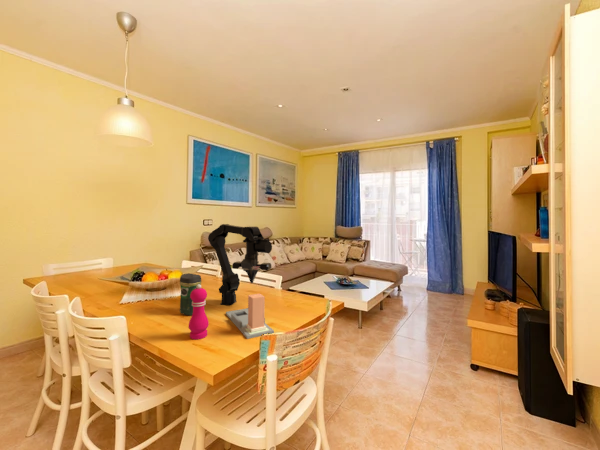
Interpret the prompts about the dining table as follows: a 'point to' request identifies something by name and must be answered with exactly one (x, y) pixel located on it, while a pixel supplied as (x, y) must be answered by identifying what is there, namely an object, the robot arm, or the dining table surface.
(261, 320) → the salmon pink tall box
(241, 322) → the track
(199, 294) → the pepper mill
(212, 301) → the dining table surface
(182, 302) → the coffee jar
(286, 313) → the dining table surface
